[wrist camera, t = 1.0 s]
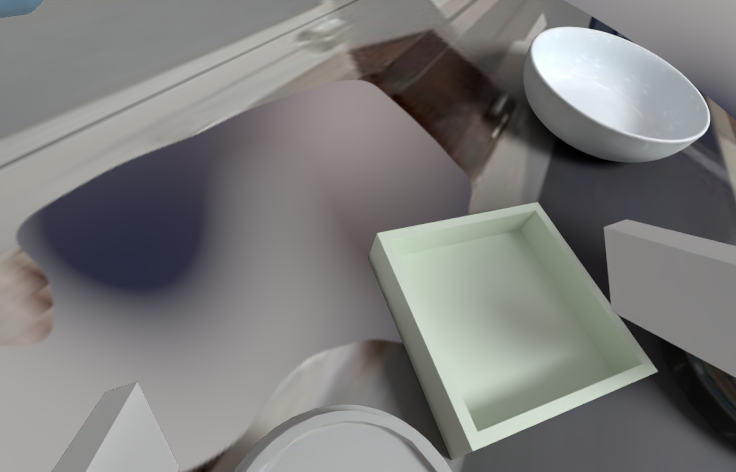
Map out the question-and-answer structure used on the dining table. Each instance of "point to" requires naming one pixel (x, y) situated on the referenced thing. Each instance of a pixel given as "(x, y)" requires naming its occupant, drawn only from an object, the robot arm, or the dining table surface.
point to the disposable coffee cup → (343, 444)
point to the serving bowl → (611, 96)
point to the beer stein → (705, 388)
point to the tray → (501, 323)
